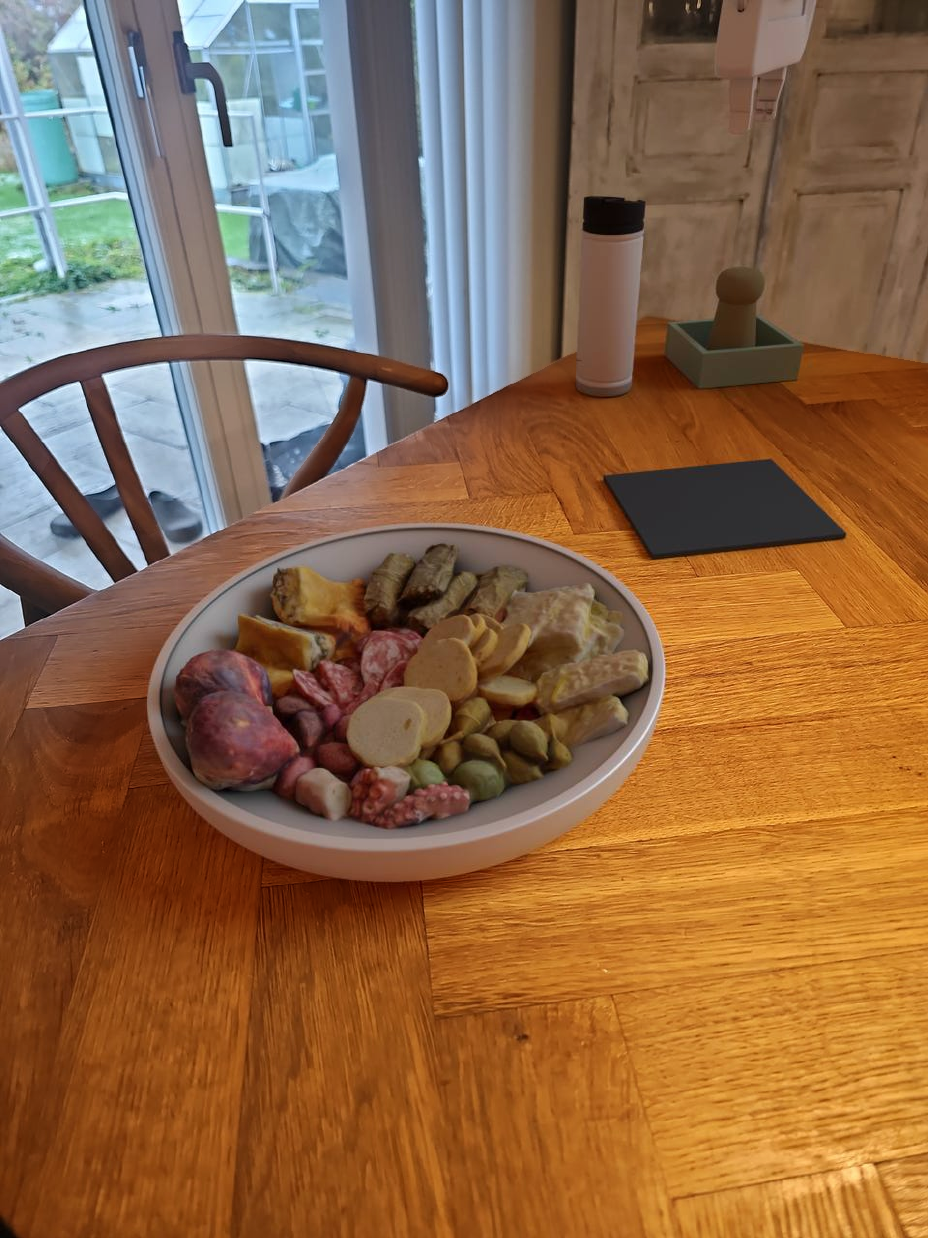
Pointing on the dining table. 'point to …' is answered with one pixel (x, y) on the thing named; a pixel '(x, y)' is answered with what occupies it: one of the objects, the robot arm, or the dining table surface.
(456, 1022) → the dining table surface
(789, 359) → the box
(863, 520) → the dining table surface
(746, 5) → the robot arm
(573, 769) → the bowl
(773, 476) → the mat
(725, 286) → the brown tapered knobbed piece
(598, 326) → the travel mug
